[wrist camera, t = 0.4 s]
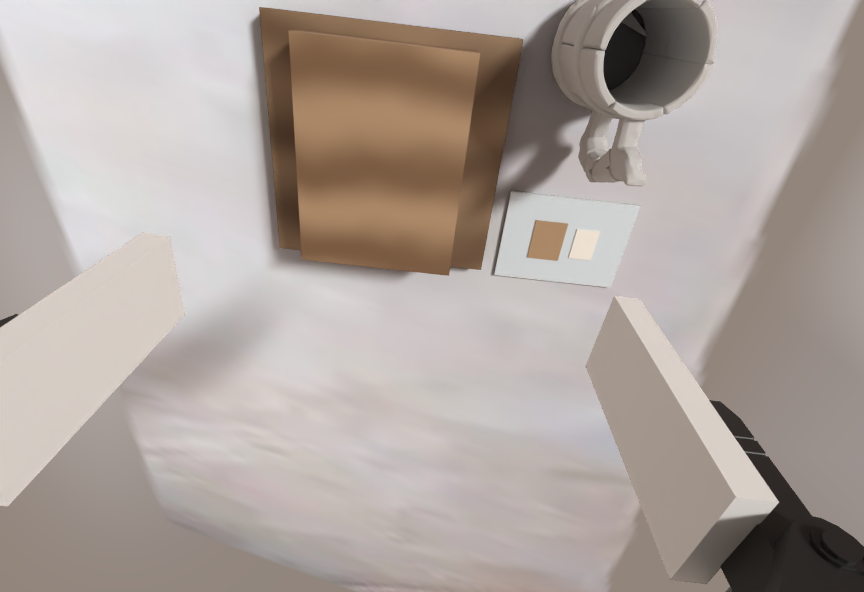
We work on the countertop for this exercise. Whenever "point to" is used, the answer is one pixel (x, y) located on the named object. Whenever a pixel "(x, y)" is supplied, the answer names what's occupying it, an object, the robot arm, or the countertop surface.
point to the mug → (648, 85)
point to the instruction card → (564, 238)
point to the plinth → (385, 138)
